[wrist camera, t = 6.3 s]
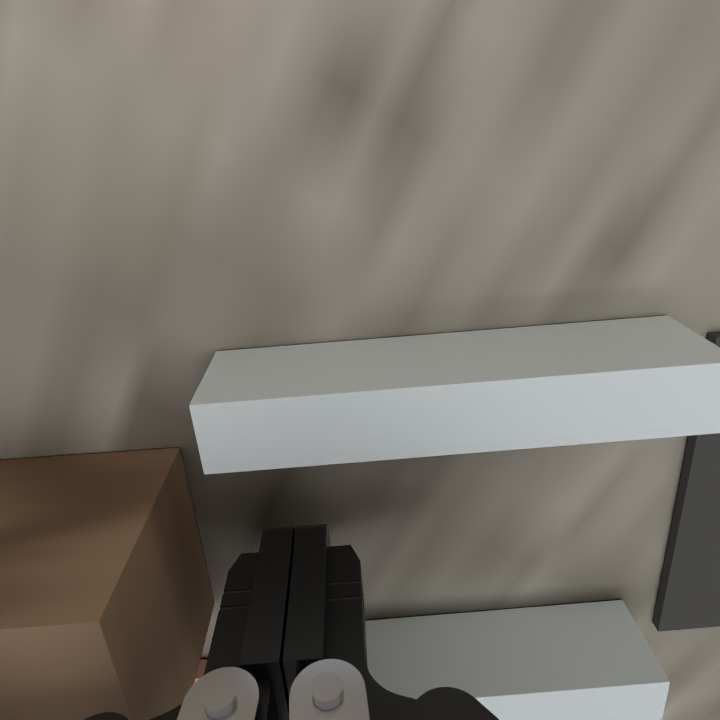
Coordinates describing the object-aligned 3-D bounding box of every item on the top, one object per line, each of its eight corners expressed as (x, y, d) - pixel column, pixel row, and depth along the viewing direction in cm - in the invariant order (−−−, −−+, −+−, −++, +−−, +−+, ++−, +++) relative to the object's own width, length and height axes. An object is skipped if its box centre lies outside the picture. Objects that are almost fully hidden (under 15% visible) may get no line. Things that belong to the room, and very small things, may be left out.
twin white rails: (667, 315, 12) (742, 361, 10) (616, 637, 16) (661, 722, 14) (216, 351, 12) (189, 405, 10) (275, 665, 16) (266, 754, 14)
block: (180, 447, 13) (98, 621, 9) (214, 603, 15) (162, 810, 11) (-75, 465, 13) (-291, 650, 9) (-7, 619, 15) (-153, 835, 11)
